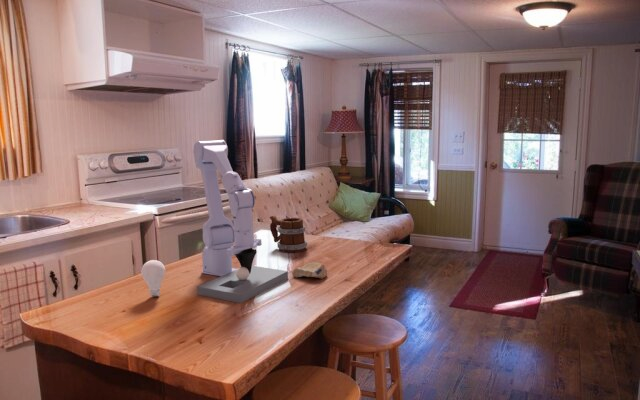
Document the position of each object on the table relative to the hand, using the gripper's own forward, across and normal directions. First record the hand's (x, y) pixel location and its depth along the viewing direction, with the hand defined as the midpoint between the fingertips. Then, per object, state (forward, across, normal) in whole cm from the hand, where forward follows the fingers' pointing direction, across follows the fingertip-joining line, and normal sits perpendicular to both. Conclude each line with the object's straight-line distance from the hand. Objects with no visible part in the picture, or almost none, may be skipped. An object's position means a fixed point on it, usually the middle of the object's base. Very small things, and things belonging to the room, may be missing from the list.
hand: (246, 273), depth 155 cm
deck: (+4, 0, +1) cm, 4 cm away
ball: (0, -2, 0) cm, 2 cm away
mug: (+4, +43, +12) cm, 45 cm away
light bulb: (+4, -19, +19) cm, 27 cm away
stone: (+5, +17, -12) cm, 21 cm away
